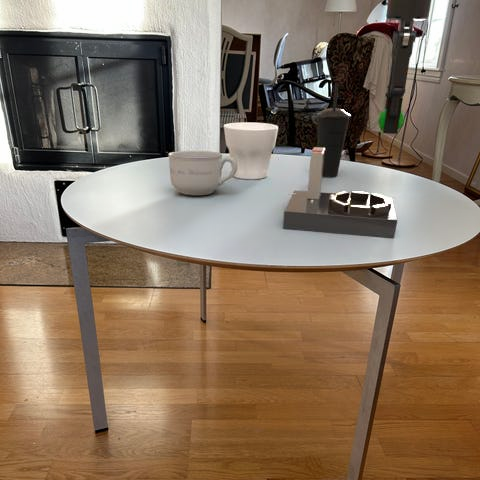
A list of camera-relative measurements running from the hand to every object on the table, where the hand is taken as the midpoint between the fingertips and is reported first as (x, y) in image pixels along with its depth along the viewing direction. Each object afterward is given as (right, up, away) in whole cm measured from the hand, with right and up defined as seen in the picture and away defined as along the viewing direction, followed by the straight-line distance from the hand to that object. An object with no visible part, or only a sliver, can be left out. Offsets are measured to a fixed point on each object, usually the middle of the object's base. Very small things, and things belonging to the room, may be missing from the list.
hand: (389, 131), depth 98 cm
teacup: (-38, -13, +1) cm, 40 cm away
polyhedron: (0, 0, 0) cm, 1 cm away
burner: (-10, -20, -17) cm, 28 cm away
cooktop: (-13, -21, -13) cm, 28 cm away
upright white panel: (-17, -16, -10) cm, 25 cm away
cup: (-28, -4, +16) cm, 33 cm away
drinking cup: (-9, -4, +18) cm, 21 cm away
